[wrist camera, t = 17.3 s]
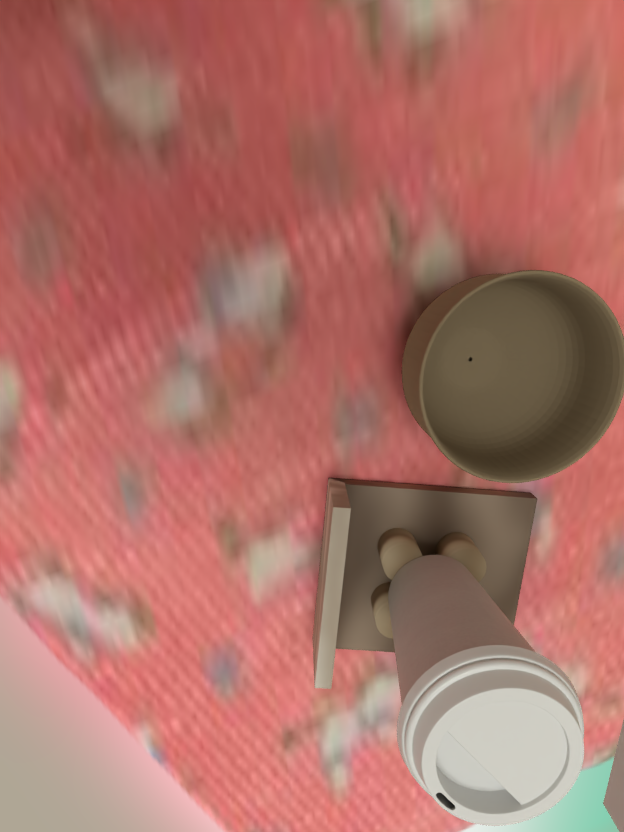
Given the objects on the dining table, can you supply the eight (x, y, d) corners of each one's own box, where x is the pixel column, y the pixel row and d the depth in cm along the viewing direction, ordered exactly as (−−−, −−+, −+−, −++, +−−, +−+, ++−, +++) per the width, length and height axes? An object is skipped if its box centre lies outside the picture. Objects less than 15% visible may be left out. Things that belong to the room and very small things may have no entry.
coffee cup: (349, 559, 41) (378, 710, 27) (476, 516, 41) (575, 645, 26) (390, 668, 44) (437, 862, 29) (511, 628, 43) (621, 805, 28)
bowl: (522, 461, 45) (585, 511, 35) (367, 415, 43) (387, 453, 34) (586, 303, 42) (673, 309, 32) (423, 249, 41) (462, 238, 31)
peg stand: (312, 638, 48) (314, 687, 42) (328, 477, 44) (333, 507, 39) (502, 650, 48) (530, 700, 42) (530, 492, 45) (565, 524, 39)
